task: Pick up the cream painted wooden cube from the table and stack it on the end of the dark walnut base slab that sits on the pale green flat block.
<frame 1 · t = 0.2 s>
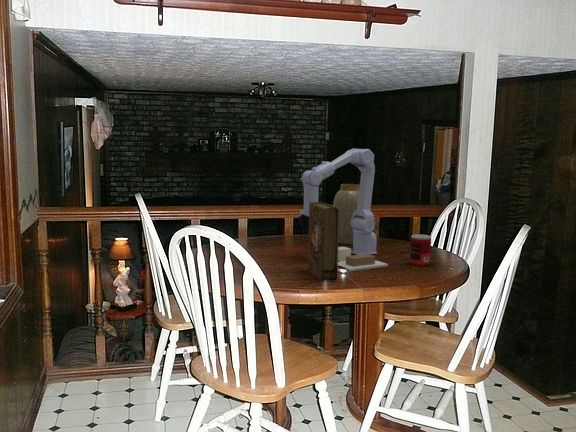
hand: (310, 235, 219), 10 cm above the table, fingers open, 7 cm apart
pale green flat block: (359, 265, 211), on the table
canned food: (419, 264, 215), on the table
book: (321, 275, 196), on the table
vase: (349, 242, 258), on the table
cream cube: (342, 260, 220), on the table
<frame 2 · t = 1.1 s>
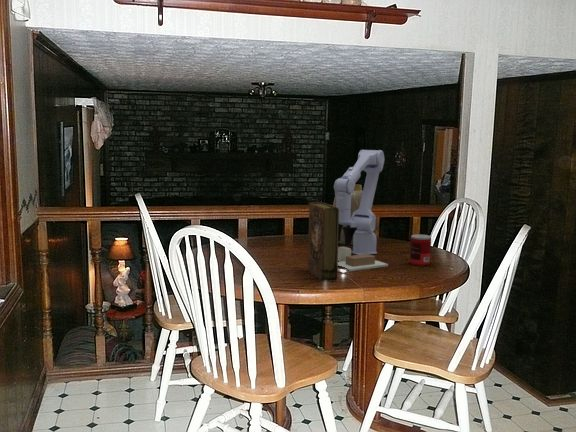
hand: (342, 242, 219), 7 cm above the table, fingers open, 7 cm apart
nothing on the table moved.
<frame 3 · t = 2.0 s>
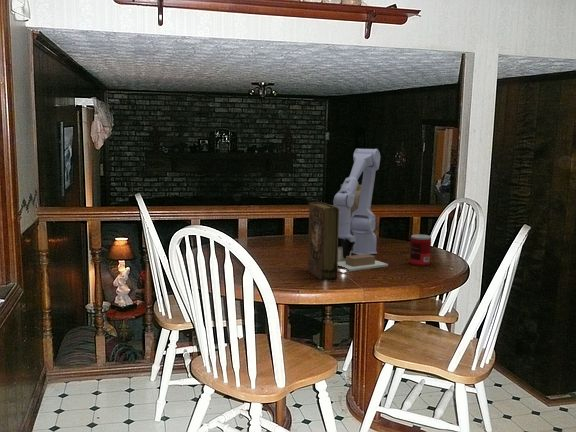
hand: (342, 256, 220), 1 cm above the table, fingers closed on cream cube, 5 cm apart
cream cube: (342, 260, 220), on the table, touching gripper
everything else where it was.
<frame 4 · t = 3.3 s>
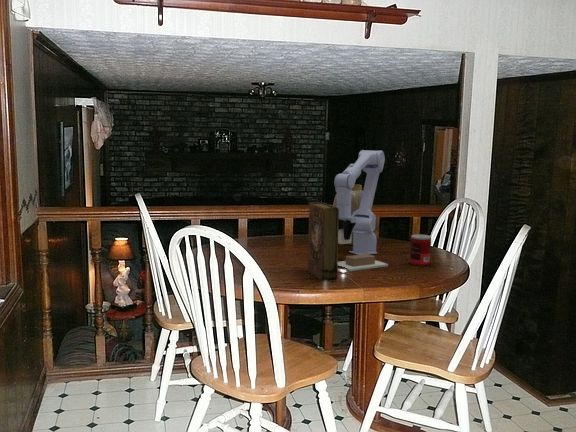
hand: (342, 238, 218), 9 cm above the table, fingers closed on cream cube, 5 cm apart
cream cube: (342, 242, 219), point 7 cm above the table, touching gripper
everything else where it was.
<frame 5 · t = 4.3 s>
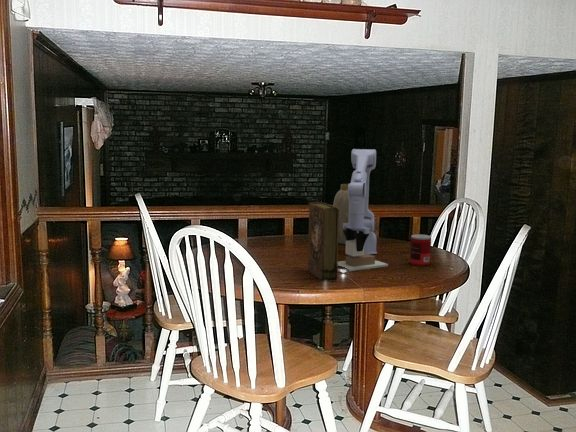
hand: (355, 249, 208), 7 cm above the table, fingers closed on cream cube, 5 cm apart
cream cube: (354, 254, 208), point 5 cm above the table, touching gripper
everything else where it was.
when the fingers open (6 cm above the table, at t = 4.8 s): cream cube stays where it is, resting on pale green flat block.
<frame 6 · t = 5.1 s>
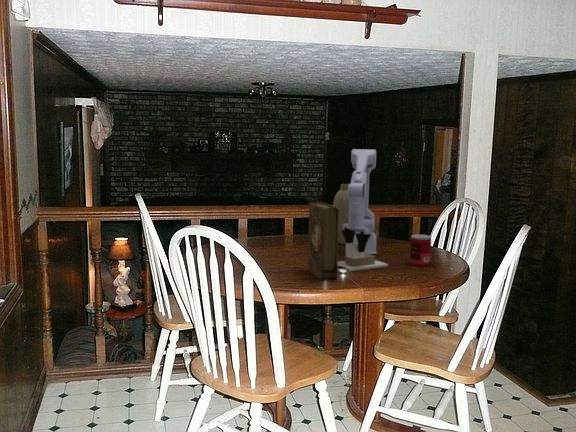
hand: (355, 250, 208), 6 cm above the table, fingers open, 7 cm apart
cream cube: (354, 257, 208), point 4 cm above the table, touching pale green flat block
everything else where it was.
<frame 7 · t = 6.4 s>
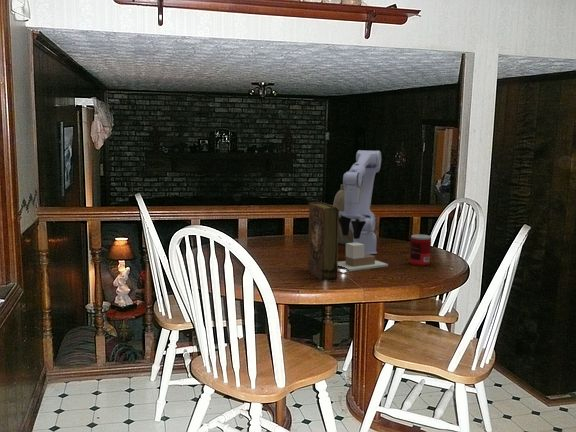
hand: (351, 236, 217), 10 cm above the table, fingers open, 7 cm apart
nothing on the table moved.
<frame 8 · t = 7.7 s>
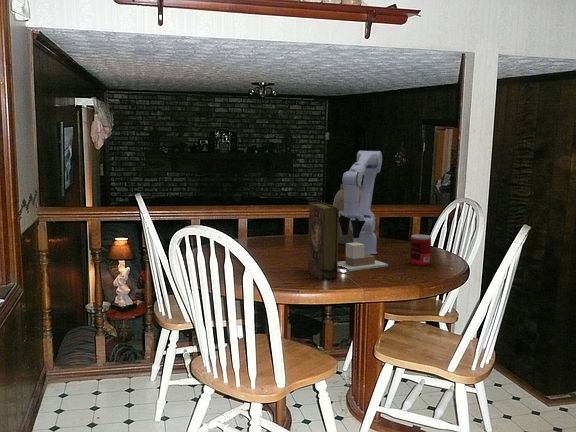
hand: (350, 236, 217), 10 cm above the table, fingers open, 7 cm apart
nothing on the table moved.
at the end: cream cube 0.1 cm from the target spot, point 3.8 cm above the table; cream cube tilted 0°; the gripper is holding nothing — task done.
